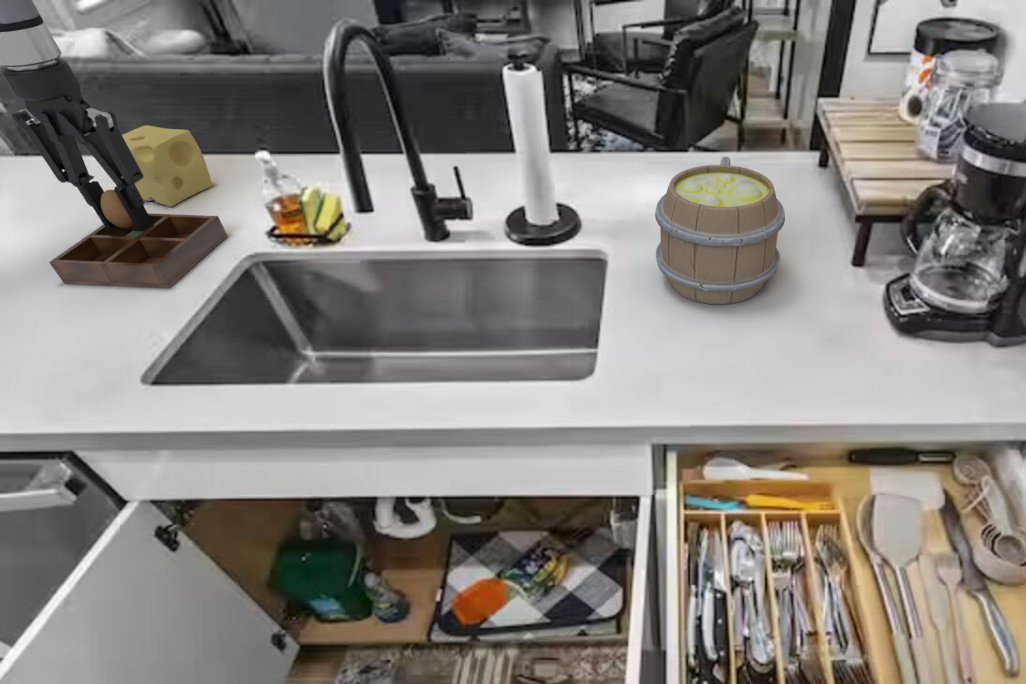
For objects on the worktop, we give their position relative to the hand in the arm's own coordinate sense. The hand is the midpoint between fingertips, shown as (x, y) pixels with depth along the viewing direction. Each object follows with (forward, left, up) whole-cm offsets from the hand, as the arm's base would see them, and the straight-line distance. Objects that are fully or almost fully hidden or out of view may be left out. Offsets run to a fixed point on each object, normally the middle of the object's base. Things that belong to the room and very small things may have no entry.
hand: (129, 225), depth 106 cm
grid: (+4, -4, -4) cm, 7 cm away
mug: (+94, 0, -4) cm, 94 cm away
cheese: (-7, +20, -4) cm, 22 cm away
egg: (0, 0, 0) cm, 0 cm away
